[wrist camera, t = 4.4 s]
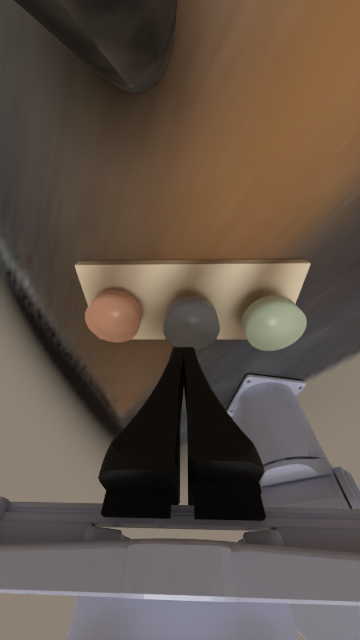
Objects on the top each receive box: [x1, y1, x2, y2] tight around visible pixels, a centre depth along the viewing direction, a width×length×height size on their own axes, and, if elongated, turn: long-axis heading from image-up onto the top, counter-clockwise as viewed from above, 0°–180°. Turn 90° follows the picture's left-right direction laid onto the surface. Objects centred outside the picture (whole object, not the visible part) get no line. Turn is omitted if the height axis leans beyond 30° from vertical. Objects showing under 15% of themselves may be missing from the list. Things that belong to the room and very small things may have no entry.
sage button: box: [242, 295, 307, 351], centre depth 16 cm, size 4×4×2 cm
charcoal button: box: [163, 295, 220, 350], centre depth 16 cm, size 4×4×2 cm
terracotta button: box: [85, 290, 142, 343], centre depth 17 cm, size 4×4×2 cm
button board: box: [75, 259, 311, 339], centre depth 18 cm, size 19×8×1 cm, turn 91°
